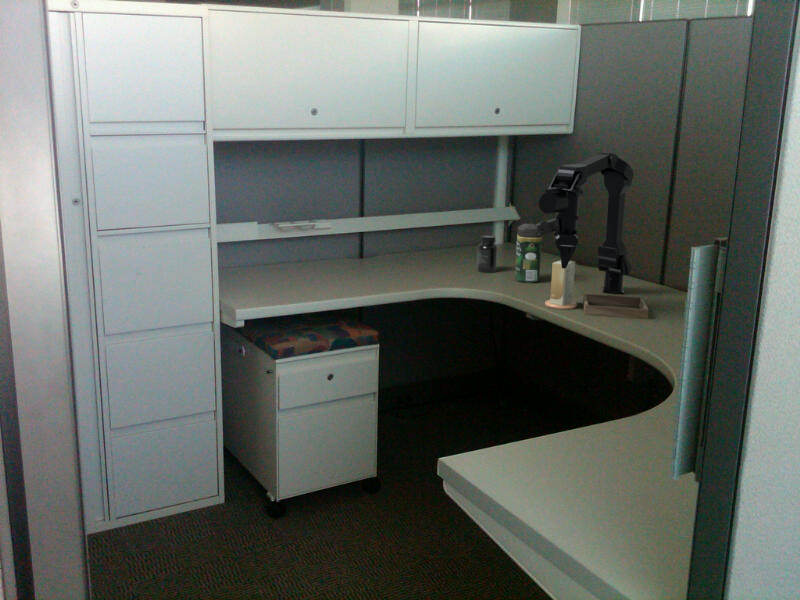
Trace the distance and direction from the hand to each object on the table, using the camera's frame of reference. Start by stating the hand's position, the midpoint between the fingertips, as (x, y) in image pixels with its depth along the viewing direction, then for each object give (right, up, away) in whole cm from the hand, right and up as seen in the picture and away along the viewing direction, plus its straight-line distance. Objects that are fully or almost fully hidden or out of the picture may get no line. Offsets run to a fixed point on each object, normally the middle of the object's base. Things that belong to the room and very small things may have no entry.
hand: (563, 265), depth 230 cm
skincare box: (0, -11, +3) cm, 11 cm away
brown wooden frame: (+14, -13, 0) cm, 19 cm away
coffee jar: (-5, -4, +35) cm, 36 cm away
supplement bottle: (-17, 0, +48) cm, 51 cm away
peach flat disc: (0, -12, +3) cm, 12 cm away
